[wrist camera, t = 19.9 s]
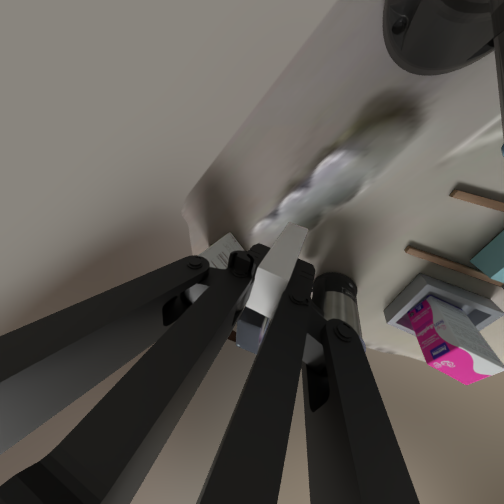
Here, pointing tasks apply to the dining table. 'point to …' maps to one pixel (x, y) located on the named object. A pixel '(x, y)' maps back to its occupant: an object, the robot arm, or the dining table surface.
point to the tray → (422, 286)
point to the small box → (251, 330)
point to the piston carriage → (492, 259)
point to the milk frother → (337, 300)
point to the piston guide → (452, 264)
